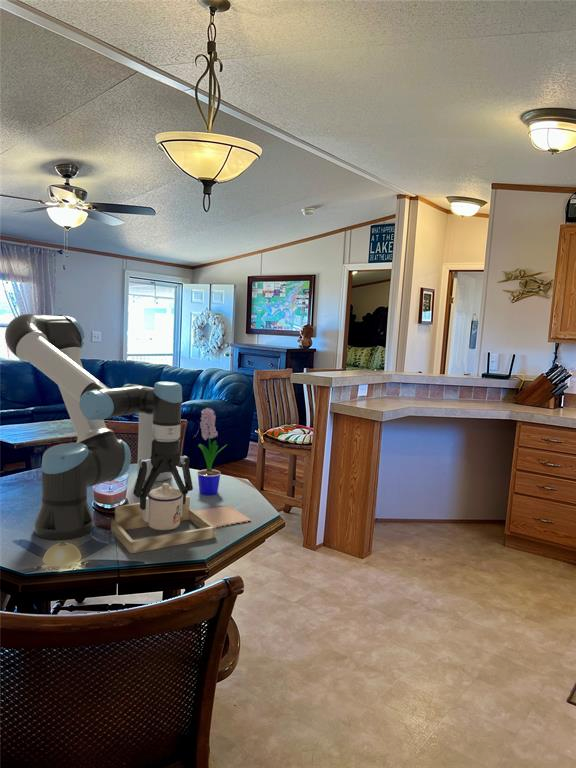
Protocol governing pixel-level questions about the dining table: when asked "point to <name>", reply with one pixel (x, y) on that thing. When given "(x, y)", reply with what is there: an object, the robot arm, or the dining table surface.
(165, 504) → the teacup with lid
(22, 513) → the dining table surface
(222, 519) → the terracotta tile
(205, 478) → the hyacinth
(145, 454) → the cylinder vase
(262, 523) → the dining table surface
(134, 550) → the frame
